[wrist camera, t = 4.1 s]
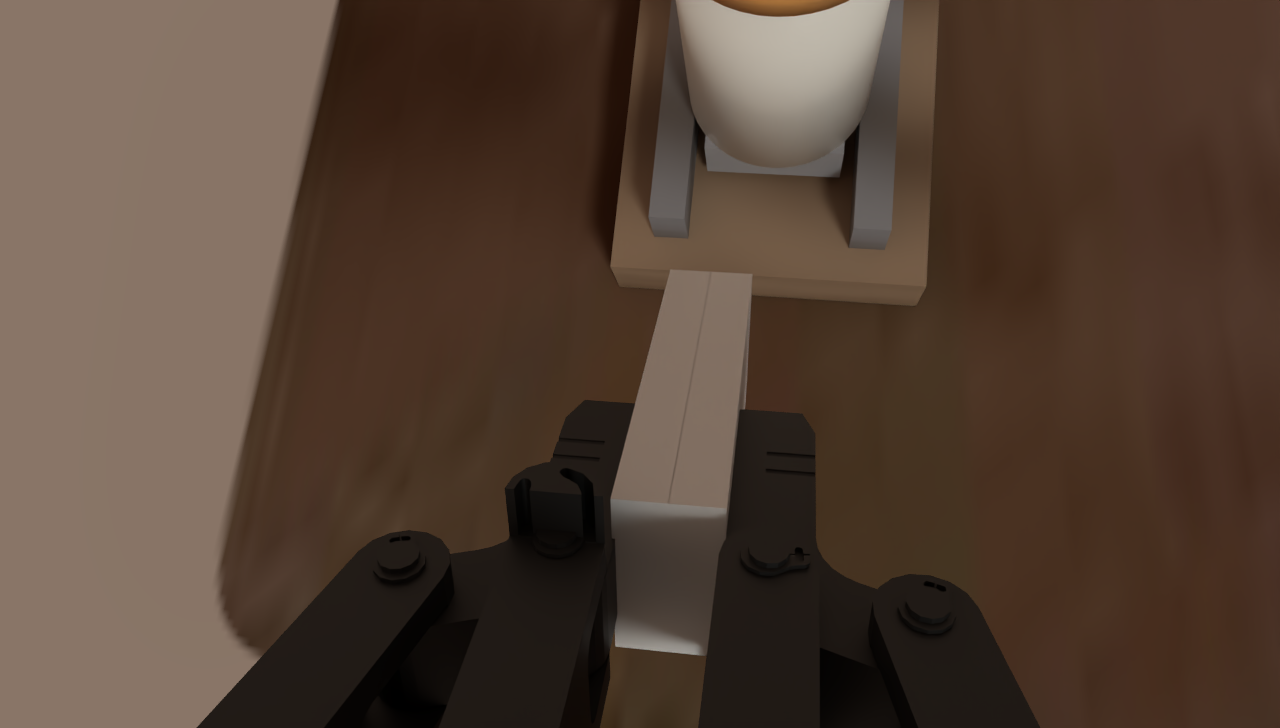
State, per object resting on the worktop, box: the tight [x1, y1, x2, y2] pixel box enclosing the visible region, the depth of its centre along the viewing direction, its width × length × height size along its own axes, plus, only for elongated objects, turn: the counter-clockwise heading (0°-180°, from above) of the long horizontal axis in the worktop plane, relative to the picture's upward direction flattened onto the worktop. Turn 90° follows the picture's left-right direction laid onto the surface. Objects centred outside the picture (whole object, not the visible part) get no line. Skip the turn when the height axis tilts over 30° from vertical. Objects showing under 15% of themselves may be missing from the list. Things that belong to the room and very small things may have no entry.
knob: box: [676, 0, 890, 178], centre depth 25 cm, size 5×5×10 cm
